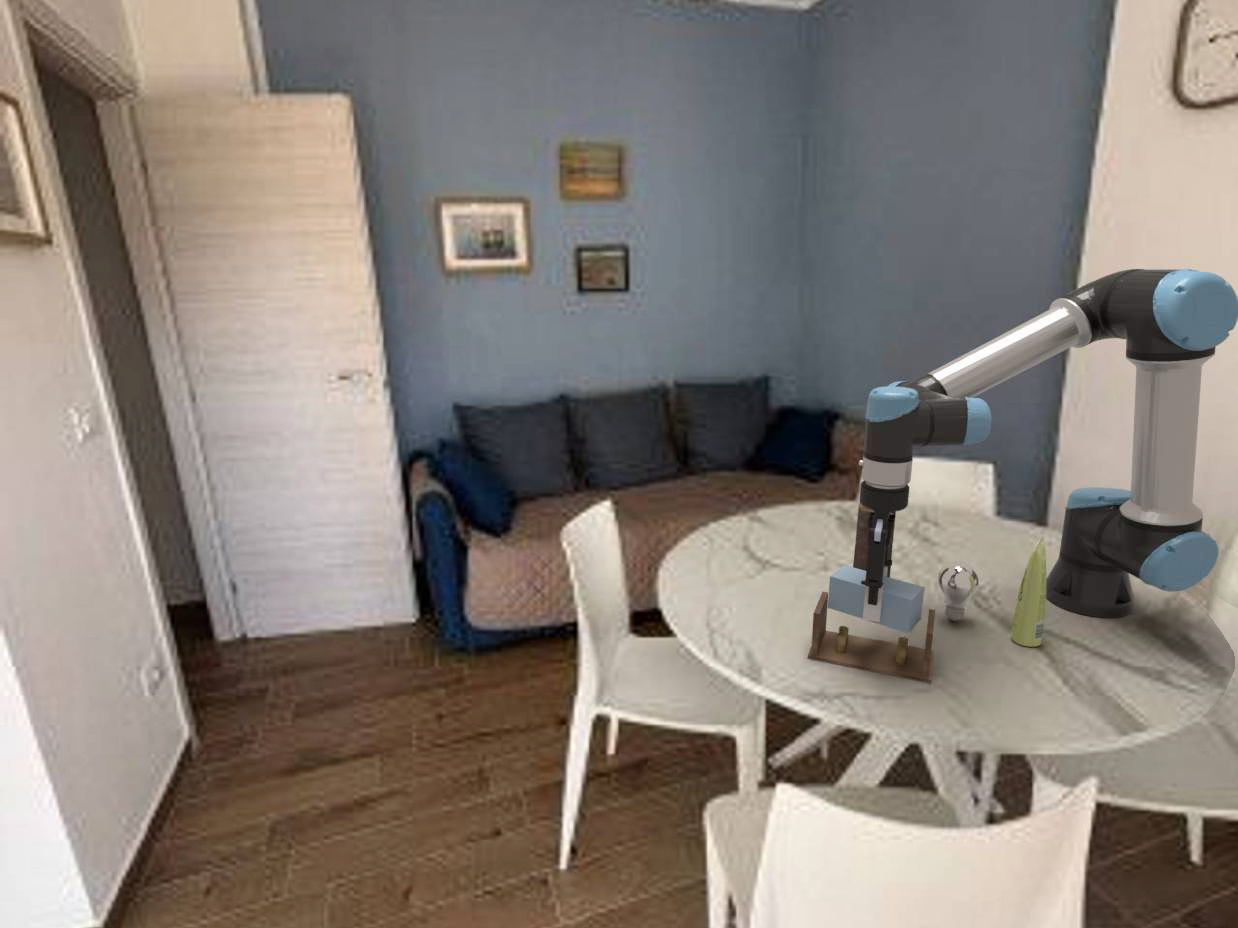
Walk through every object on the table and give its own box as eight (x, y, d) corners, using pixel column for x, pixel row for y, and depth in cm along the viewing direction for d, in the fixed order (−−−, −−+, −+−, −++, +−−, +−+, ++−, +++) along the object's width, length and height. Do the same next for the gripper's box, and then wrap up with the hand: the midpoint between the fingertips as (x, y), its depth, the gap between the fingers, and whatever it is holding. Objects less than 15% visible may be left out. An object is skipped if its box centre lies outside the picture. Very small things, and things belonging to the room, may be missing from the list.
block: (842, 595, 133) (844, 565, 131) (920, 619, 124) (924, 587, 122) (827, 607, 128) (830, 576, 126) (908, 633, 119) (911, 599, 118)
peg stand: (933, 653, 129) (938, 609, 126) (931, 682, 120) (936, 636, 117) (817, 631, 137) (820, 589, 134) (807, 658, 128) (810, 613, 126)
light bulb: (950, 632, 135) (957, 572, 132) (926, 615, 142) (932, 558, 139) (982, 626, 137) (989, 567, 134) (956, 610, 144) (963, 553, 140)
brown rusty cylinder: (891, 603, 147) (899, 509, 141) (852, 600, 148) (859, 507, 143) (885, 586, 154) (893, 496, 149) (849, 584, 156) (855, 495, 150)
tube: (1002, 633, 135) (1015, 534, 129) (1028, 631, 135) (1042, 532, 130) (1021, 649, 129) (1036, 546, 124) (1048, 647, 130) (1064, 544, 124)
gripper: (868, 464, 130) (858, 582, 136) (852, 497, 112) (842, 632, 119) (913, 468, 127) (901, 589, 133) (905, 503, 109) (891, 641, 116)
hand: (873, 609), depth 126 cm, fingers closed on block, 7 cm apart
